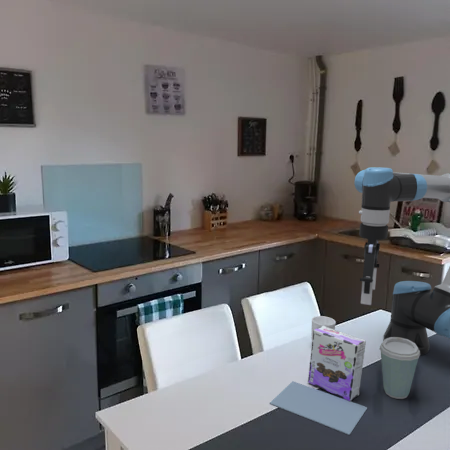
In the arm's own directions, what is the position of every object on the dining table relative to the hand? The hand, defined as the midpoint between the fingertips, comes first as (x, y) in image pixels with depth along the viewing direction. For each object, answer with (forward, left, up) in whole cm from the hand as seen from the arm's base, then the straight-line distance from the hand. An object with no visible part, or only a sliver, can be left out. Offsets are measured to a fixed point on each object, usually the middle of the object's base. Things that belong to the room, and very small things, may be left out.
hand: (368, 296), depth 132 cm
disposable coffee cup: (+1, +10, -27) cm, 29 cm away
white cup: (-13, -18, -27) cm, 35 cm away
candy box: (+10, -5, -27) cm, 29 cm away
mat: (+20, -5, -26) cm, 34 cm away
